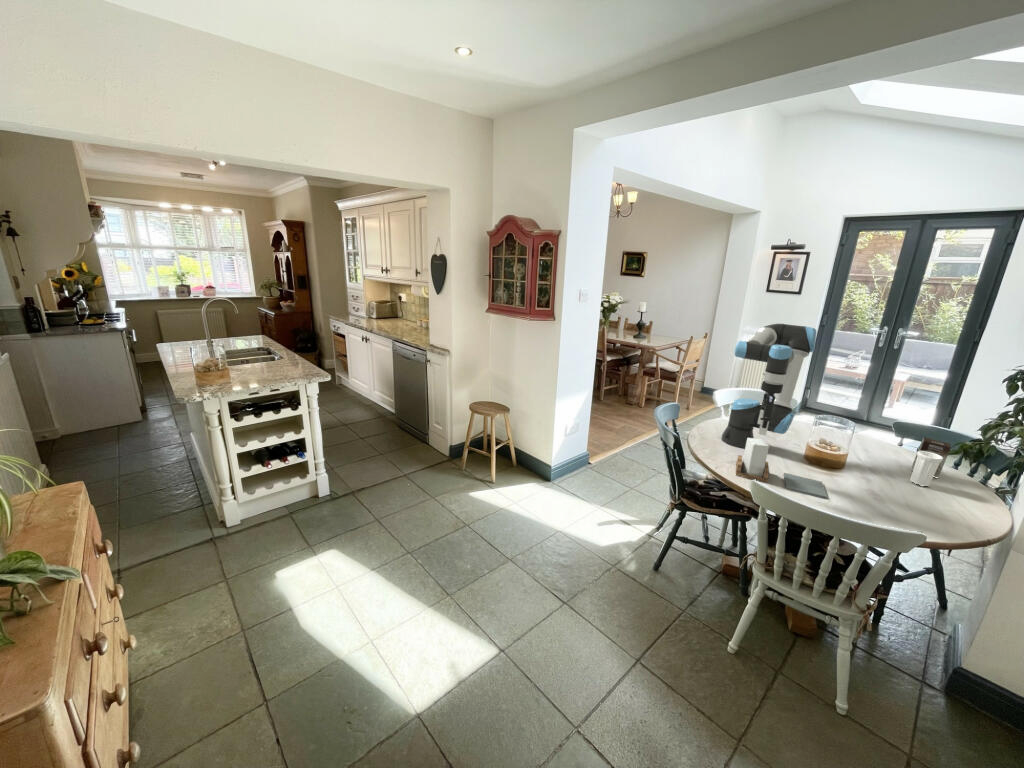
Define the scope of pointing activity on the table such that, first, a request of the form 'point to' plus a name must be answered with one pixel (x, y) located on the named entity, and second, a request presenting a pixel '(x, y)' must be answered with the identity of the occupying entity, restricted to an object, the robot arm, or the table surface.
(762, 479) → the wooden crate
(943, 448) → the coffee box
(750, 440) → the skincare box
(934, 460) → the cup
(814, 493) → the plate
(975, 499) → the table surface
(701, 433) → the table surface
